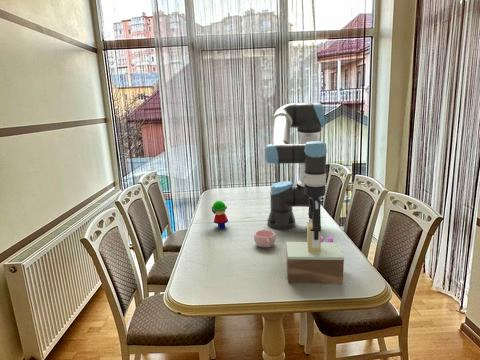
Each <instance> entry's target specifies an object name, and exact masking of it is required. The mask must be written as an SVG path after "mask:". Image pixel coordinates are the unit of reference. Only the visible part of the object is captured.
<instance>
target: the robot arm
mask: <svg viewBox="0 0 480 360" xmlns="http://www.w3.org/2000/svg"><path fill="white" fill-rule="evenodd" d="M271 126H272V136H271V137H272V138H271V143H270V144H266V146H265V161H266V163H267V164H273V165H279V164H299V179H298V180H296V184H294V183H293V182H292V181H288V180H286V181H285V180H283V181H279V182H276V183H273V184H272V185H270V192H269V194H270V212H269V215H268V218H267V226H268V227H269V228H271V229H273V230H274V229H275V230H290V229H293V228H295V226H296V223H297V222H296V218H295V214H294V212H293V207H299V208H302V207H303V208H304V207H305V208H308V213H307V214H308V222H312V225H313V229H311V231H312V248H320V231H321V232H322V226H321V225H322V224H321V223H322V221H321V220H322V218H321V216H322V215H321V206H322V205H321V204H322V203H321V202H322V197H325V195H326V185H325V184H326V182H327V170H326V169H327V153H328V150H327V143H326V142H325V141H322V140H319V134H320V133H321V132H322V128H325V127H326V120H325V112H324V106H323V104H322V103H320V102H298V103H297V102H296V103H293V102H292V103H287V104H284V105H282V106H281V107H279V108H278V109H277V110H276V111H275V112H273V115H272V118H271ZM291 128H293V129H295V128H297V130H296V131H297V133H299V138H300V140H299V143H291Z"/></svg>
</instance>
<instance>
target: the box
mask: <svg viewBox="0 0 480 360" xmlns="http://www.w3.org/2000/svg"><path fill="white" fill-rule="evenodd" d="M344 262H345V259H344V260H312V259H288V256H287V255H286V277H287V283H288V284H289V283H294V284H334V285H335V284H338V285H341V284H344V268H345V267H344V265H345V263H344Z"/></svg>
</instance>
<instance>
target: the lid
mask: <svg viewBox="0 0 480 360" xmlns="http://www.w3.org/2000/svg"><path fill="white" fill-rule="evenodd" d="M306 229H307V231H306V232H307V233H306V234H307V235H306V236H307V237H306V241H286V257H287V256H288V259H312V260H344V261H345V256H344V254H343V252H342V250H341V247H340V245H339V243H338V242H335V241H333V242H328V241H327V242H325V241H324V242H321V236H322V230H321V231H320V248H312V231H311V229H313V225H312V222H309V221H308V222H307V228H306Z"/></svg>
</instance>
